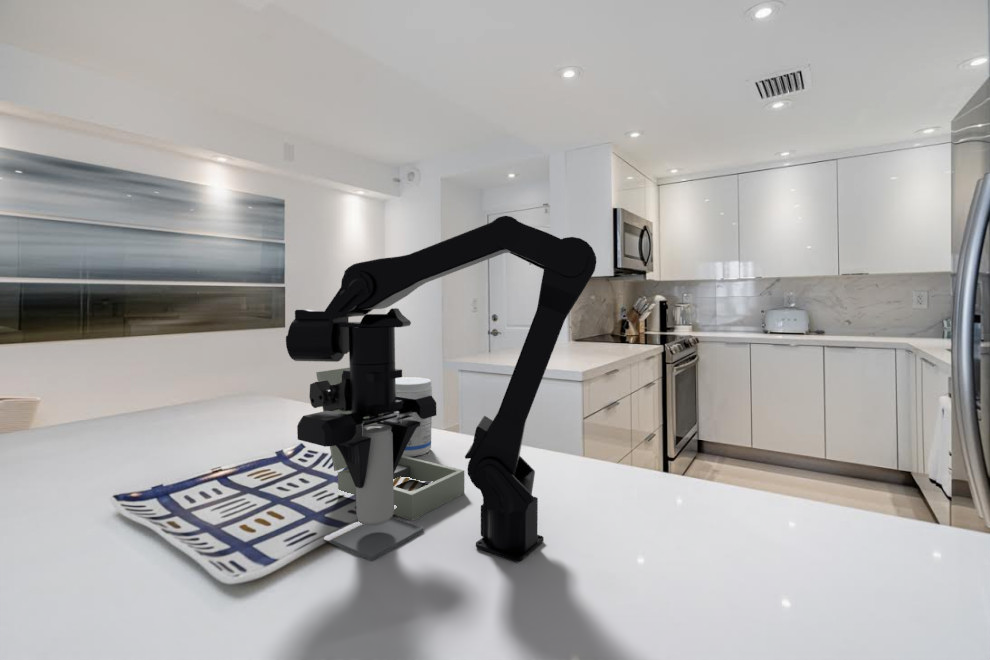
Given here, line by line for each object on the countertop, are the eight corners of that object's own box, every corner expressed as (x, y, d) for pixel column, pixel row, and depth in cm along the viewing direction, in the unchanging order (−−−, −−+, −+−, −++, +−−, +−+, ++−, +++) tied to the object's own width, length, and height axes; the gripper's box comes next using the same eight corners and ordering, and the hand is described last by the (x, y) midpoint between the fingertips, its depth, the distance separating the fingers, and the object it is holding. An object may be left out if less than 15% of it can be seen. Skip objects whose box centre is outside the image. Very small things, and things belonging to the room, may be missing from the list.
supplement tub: (375, 455, 98) (374, 382, 97) (400, 442, 106) (399, 375, 106) (418, 460, 94) (417, 385, 93) (440, 447, 103) (439, 378, 102)
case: (464, 492, 78) (464, 470, 78) (412, 520, 68) (411, 494, 68) (393, 473, 87) (393, 452, 87) (338, 495, 77) (337, 472, 77)
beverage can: (398, 511, 66) (397, 424, 65) (387, 528, 61) (385, 434, 61) (364, 510, 67) (362, 423, 66) (350, 526, 62) (348, 433, 61)
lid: (375, 364, 89) (372, 364, 89) (318, 371, 79) (316, 372, 79) (392, 451, 87) (389, 451, 88) (336, 470, 77) (334, 471, 78)
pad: (423, 531, 65) (423, 527, 65) (371, 561, 58) (371, 556, 58) (376, 514, 70) (376, 511, 70) (323, 540, 63) (323, 536, 63)
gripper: (383, 352, 75) (384, 452, 76) (268, 365, 59) (272, 491, 60) (438, 356, 69) (439, 465, 70) (326, 373, 53) (329, 512, 54)
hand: (374, 481), depth 64 cm, fingers closed on beverage can, 5 cm apart
